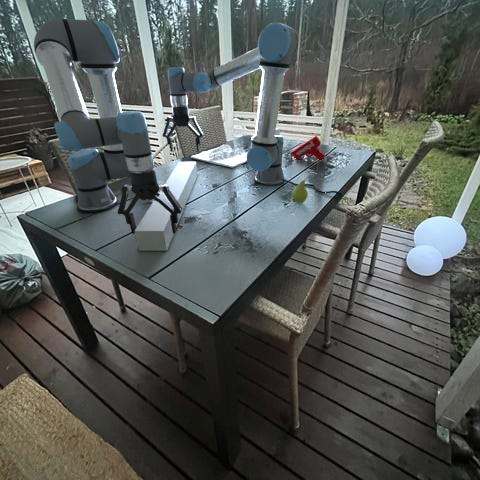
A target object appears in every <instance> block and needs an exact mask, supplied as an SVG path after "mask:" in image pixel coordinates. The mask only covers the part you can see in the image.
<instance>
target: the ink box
mask: <svg viewBox="0 0 480 480" xmlns="http://www.w3.org/2000/svg"><path fill="white" fill-rule="evenodd" d="M275 135H279V136H281V129H280V128H277V127H276V130H275Z"/></svg>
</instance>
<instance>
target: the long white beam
mask: <svg viewBox="0 0 480 480" xmlns="http://www.w3.org/2000/svg"><path fill="white" fill-rule="evenodd" d="M197 178H198V165H197V161H178V163H177V164H176V167H175V168H174V169H173V171H172V173H171V174H170V176H168V179H167V180H166V182H165V183H164V185H165V184H168V186H169V189H170V191H171V193H172V194H173V196H174V197H175V198H176V200H177V201H178V203H179V204H180V206H181V207H182V211H181V213H180V214H179V213H178V214H177V216H178V222H177V224H176V228H177V227H178V225H179V222H180V220H181V217H182V214H183V212H184V210H185V207H186V205H187V202H188V200H189V197H190V196H191V195H190V194H191V192H192V190H193V187H194V185H195V183H196V180H197ZM159 193H160V194H161V195H162V197H163V198H164V199H166V200H167V201H168V202H169V203H170V201H169V200H168V199H167V197H166V196H165V194H164V192H162V191H161V190H159ZM170 204H171V203H170ZM171 205H172V204H171ZM170 215H171V213H170V212H169V211H168V210H166V209H165V208H164V207H163V206H162V205H161V204H160V203H159V202H157V201H155V200H154V199H153V202H152V203H151V205H150V207H149V208H148V209H147V211H146V213H145V214H144V216H143V217H142V219H141V220H140V222H139V223H138V225H136V227H137V228H136V229H135V234H134V235H135V239H136V242H137V247H138V250H139V252H142V251H143V252H147V251H149V252H151V251H152V252H153V251H155V252H156V251H158V252H159V251H160V252H161V251H162V252H164V251H165V252H166V251H168V249H169V247H170V244H171V241H172V239H173V236H174V234H175V233H173V231H172V226H171V220H170Z"/></svg>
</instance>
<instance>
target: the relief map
mask: <svg viewBox="0 0 480 480" xmlns="http://www.w3.org/2000/svg"><path fill="white" fill-rule="evenodd" d="M247 152H248V151H246V150H245V149H244V148H243V147H240V148H237V149H234V148H232V147H231V146H230V145H229V144H224V143H223V144H222V145H220V146H218V147H215V148H212V149H209V150H205V151H201V152H200V153H198V154H194V155H191V156H190V158H191V159H192V160H197V161H201V162H205V163H209V164H210V163H211V164H214V165H218V166H221V167H222V166H223V167H228V168H231V169H233V168H234V169H235V168H236V167H238V166H241V165H242V164H246V163H247V159H246V155H247Z"/></svg>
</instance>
